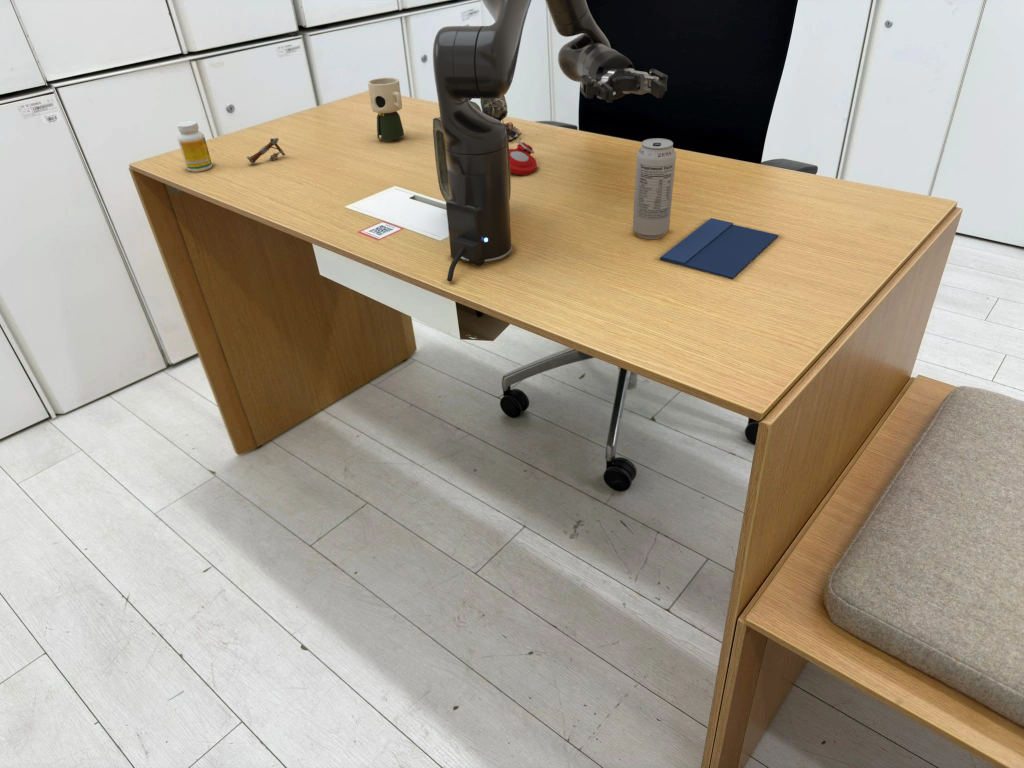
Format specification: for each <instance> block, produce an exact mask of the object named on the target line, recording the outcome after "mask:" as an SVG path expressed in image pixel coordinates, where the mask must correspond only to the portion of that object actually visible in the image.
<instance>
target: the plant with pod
mask: <svg viewBox="0 0 1024 768" xmlns="http://www.w3.org/2000/svg"><path fill="white" fill-rule="evenodd" d="M479 101H480V108H481V111H482V113H484V114H486V115H488V116H490V117H492V118H495V119H497V120H499V121H500V122H502V123H503V124H504V126H505V128H506V133H507V136H508V142H509V141H511V140H514V139H515V138H516V137H518V134H519V133H520V132H521V130H520V129H519V128H518V127H516V126H514V124H513V122H512V121H508V122H505V123H504V120H505V118H507V116H508V103H507V100H506V96H505V95H504V96H502V97H500V98H494V99H479Z"/></svg>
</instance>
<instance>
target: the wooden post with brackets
mask: <svg viewBox="0 0 1024 768" xmlns="http://www.w3.org/2000/svg"><path fill="white" fill-rule="evenodd" d="M278 143H279V137H273V138H272V137H271V138H270V139H269V142H268V143H267V144H266V145H264V146H262V148H260V149H259V151H258V152H256V153H254V154H253V155H251V156H249V155H247V156H246V158H247V160H248V161H249V162H250V163H251V164H252V165H253V166H255V165H256V162H257V160H259V158H260V157H262V156H263V155H265V154H266V153H268V151H270V149H274V150H278V152H273V153H272V155H270V157H269V160H270V161H275V160H276V159H278V158H279V155H280V154H281V156H283V157H284V156H286V153H285V152H284V150H283V149H282V148H281V147H280V146H279V145H278Z"/></svg>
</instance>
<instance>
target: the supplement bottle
mask: <svg viewBox="0 0 1024 768" xmlns="http://www.w3.org/2000/svg"><path fill="white" fill-rule="evenodd" d="M199 129H200V128H199V124H198V122H197V121H196V120H186V121H182V122H178V123H177V130H178V132H179V134H178V136H177V142H178V145H179V147H180V148H179V149H180V151H181V154H182V157H183V161H184V164H185V167H186V170H187V171H189V172H195V173H196V172H197V173H198V172H199V173H200V172H205V171H207V170H210V169H211V168H212V167H213V162H212V159H211V154H210V151H209V147H208V145H207V141H206V137H205V135H204V133H203V132H202V131H200V130H199Z"/></svg>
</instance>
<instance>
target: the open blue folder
mask: <svg viewBox="0 0 1024 768" xmlns="http://www.w3.org/2000/svg"><path fill="white" fill-rule="evenodd" d="M778 237H779V234H776V233H771V232H768V231H762V230H759V229H756V228H755V229H754V228H750V227H746V226H741V225H737V224H734V222H731V221H727V220H723V219H718V218H713V217H711V218H709V219H708V220H707V221H705V222H704V223H703V224H701V225H700V226H699V227H697V228H696V229H695V230H693V231H692V232H691V233H690V234H688V235H687V236H686V237H685V238H683V239H682V240H680V241H679V242H678V243H677V244H675V245H674V246H673V247H671V248H670V249H669V250H667V251H666V252H665V253H664V254H662V255H661V256H660V257H659V260H660V261H663V262H667V263H671V264H674V265H677V266H678V265H679V266H682V267H686V268H690V269H693V270H696V271H700V272H704V273H708V274H712V275H715V276H719V277H723V278H725V279H730V280H733V279H734V278H735V277H736V276H738V275H739V274H740V273H741V272H742V271H743V270H744V269H745V268H746V267H747V266H748V265H750V264H751V263H752V262H753V261H754V260H755V259H756V258H757V257H758V256H759V255H760V254H761V253H762V252H763V251H764V250H765V249H767V248H768V246H770V245H771V244H773V242H775V240H776V239H777V238H778Z"/></svg>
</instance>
